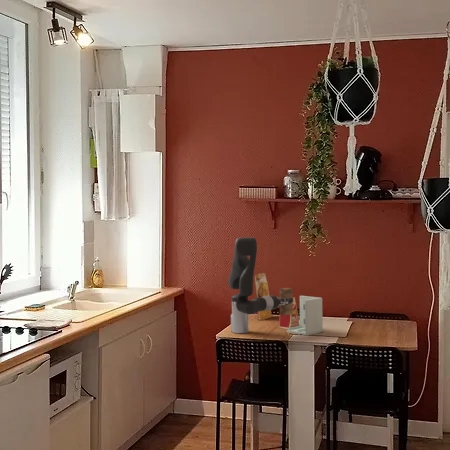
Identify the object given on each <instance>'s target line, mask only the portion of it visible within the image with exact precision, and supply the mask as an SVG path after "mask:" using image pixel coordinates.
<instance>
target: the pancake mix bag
mask: <svg viewBox="0 0 450 450" xmlns="http://www.w3.org/2000/svg"><path fill="white" fill-rule="evenodd" d="M254 284H255V294H256V298H260V297H264V296H270V290H269V284H268V280H267V276H266V272H261V273H257V274H255V275H254ZM270 318H272V310H267V311H258V312H257V321H262V320H263V321H264V320H268V319H270Z"/></svg>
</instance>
